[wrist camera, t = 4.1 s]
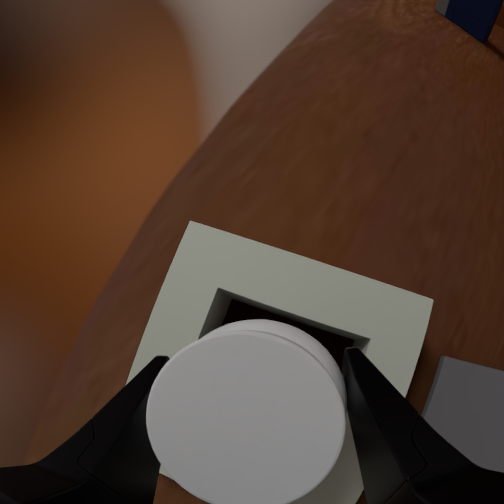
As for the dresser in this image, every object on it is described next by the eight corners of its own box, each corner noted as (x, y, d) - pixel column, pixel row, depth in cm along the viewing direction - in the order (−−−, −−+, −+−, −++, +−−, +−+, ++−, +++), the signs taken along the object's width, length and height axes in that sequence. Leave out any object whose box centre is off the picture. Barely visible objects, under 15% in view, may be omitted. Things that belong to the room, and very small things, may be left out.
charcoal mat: (478, 547, 9) (480, 550, 8) (346, 552, 11) (347, 556, 11) (554, 383, 12) (558, 383, 12) (440, 355, 15) (444, 355, 14)
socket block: (330, 501, 13) (338, 530, 10) (137, 428, 15) (107, 442, 12) (407, 308, 16) (433, 299, 12) (208, 243, 18) (190, 220, 15)
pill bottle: (322, 326, 16) (371, 300, 7) (324, 428, 14) (365, 521, 5) (215, 329, 17) (126, 307, 7) (217, 429, 15) (138, 512, 5)
